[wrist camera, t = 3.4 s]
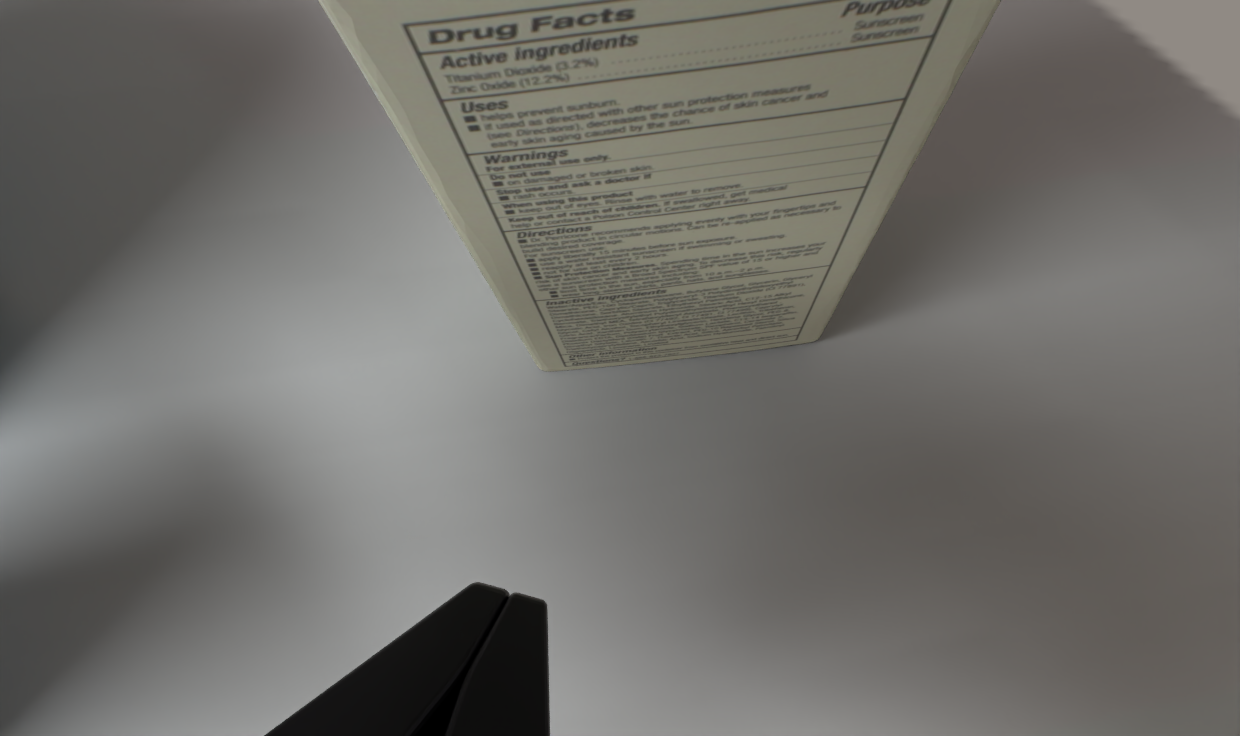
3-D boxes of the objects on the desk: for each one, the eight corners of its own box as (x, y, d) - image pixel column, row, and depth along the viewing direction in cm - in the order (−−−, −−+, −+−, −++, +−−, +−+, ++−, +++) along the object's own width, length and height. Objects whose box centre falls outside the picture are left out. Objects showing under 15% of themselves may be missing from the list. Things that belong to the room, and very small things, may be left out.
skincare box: (789, 167, 19) (984, -524, 8) (822, 353, 18) (1116, -131, 6) (513, 199, 19) (287, -434, 8) (526, 386, 18) (281, -33, 6)
